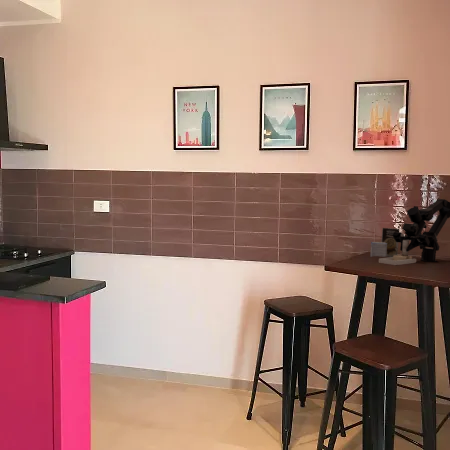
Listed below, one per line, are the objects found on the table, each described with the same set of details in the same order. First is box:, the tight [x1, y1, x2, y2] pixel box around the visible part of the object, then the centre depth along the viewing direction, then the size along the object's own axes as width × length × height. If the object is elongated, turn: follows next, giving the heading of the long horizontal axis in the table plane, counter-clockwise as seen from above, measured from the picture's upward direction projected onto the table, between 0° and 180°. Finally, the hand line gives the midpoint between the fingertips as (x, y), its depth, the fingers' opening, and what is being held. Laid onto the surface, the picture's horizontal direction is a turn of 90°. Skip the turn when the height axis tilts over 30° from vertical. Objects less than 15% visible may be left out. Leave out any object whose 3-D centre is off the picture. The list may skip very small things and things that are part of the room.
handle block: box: [393, 240, 413, 261], centre depth 269 cm, size 7×6×11 cm
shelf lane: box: [378, 257, 417, 266], centre depth 267 cm, size 19×10×3 cm, turn 130°
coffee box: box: [380, 227, 400, 258], centre depth 299 cm, size 9×6×16 cm
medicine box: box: [369, 241, 387, 258], centre depth 291 cm, size 8×4×9 cm, turn 84°
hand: (403, 250), depth 270 cm, fingers closed on handle block, 3 cm apart
